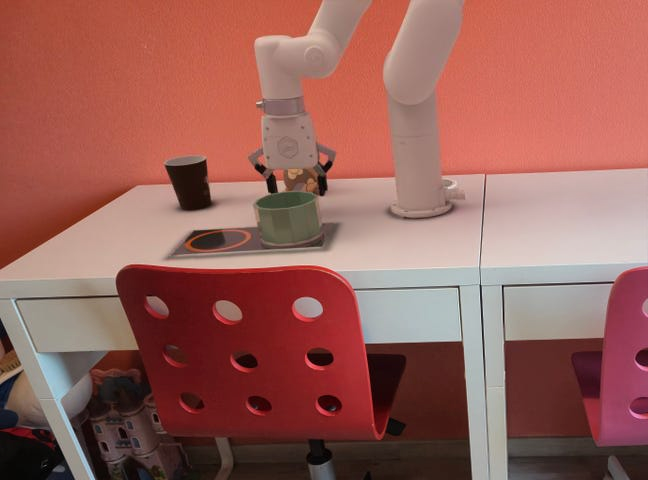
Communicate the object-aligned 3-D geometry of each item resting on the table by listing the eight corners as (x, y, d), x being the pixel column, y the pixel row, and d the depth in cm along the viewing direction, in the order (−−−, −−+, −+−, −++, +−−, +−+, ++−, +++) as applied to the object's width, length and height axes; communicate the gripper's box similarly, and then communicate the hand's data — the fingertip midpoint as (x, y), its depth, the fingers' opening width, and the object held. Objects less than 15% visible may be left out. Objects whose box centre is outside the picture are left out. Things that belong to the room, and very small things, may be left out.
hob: (335, 224, 141) (335, 221, 140) (324, 249, 128) (323, 247, 128) (193, 232, 140) (193, 229, 140) (168, 258, 128) (167, 255, 128)
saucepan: (333, 210, 147) (328, 177, 144) (317, 244, 129) (311, 207, 126) (278, 213, 147) (272, 180, 143) (254, 248, 129) (246, 210, 126)
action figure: (340, 165, 168) (329, 180, 154) (311, 198, 171) (298, 215, 158) (307, 134, 165) (293, 146, 151) (278, 168, 168) (261, 183, 155)
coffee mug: (203, 212, 152) (192, 165, 147) (167, 211, 154) (155, 165, 149) (230, 196, 162) (220, 152, 157) (196, 196, 164) (186, 152, 159)
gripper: (234, 112, 131) (251, 202, 140) (327, 108, 131) (339, 199, 140) (244, 105, 138) (260, 191, 146) (333, 101, 138) (344, 188, 146)
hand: (299, 195), depth 143 cm, fingers open, 9 cm apart
